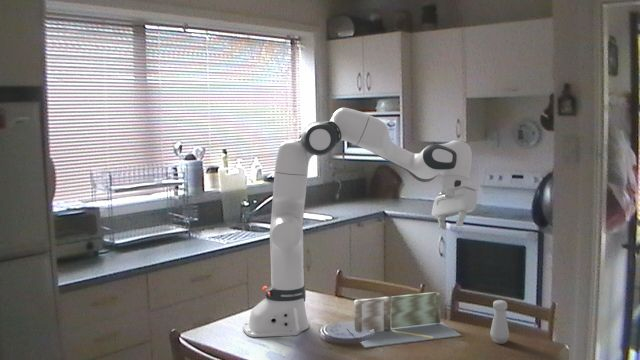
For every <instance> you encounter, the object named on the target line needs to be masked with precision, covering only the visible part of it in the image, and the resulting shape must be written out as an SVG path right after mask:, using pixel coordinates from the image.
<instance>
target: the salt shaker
mask: <svg viewBox="0 0 640 360" xmlns="http://www.w3.org/2000/svg"><path fill="white" fill-rule="evenodd" d="M492 307H493V309H494V312H493V313H494V315H493V319H492V323H491V327H490V332H489V334H490V338H491V339H492V342H493V343H495V344H502V345H504V344H505V343H507V342H508V340H509V338H510V331H509V330H510V329H509V324H508V318H507V311H506V310H507V309H508V302H507V301H505V300H502V299H497V300H494V301H493V303H492Z"/></svg>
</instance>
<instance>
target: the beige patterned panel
mask: <svg viewBox="0 0 640 360" xmlns="http://www.w3.org/2000/svg"><path fill="white" fill-rule="evenodd" d="M353 303H354V304H353V308H354V327H355V331H356V332H361V331H363V330H372V329H374V331H375V332H379V331H390V330H391V296H381V297H370V298H361V299H355V300H354V302H353Z"/></svg>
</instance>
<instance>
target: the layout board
mask: <svg viewBox="0 0 640 360" xmlns="http://www.w3.org/2000/svg"><path fill="white" fill-rule="evenodd" d="M457 337H458V338H459V337H462V334H461V333H459V332H457V331H456V330H455V329H454V328H451V327H450V326H448V325H447V324H445V323H444V322H442V321H441V320H440V323H432V324H424V325H415V326H407V327H398V328H391V330H390V331H379V332H375V334H374V335H373V337H372V338H370V339H368V340H365V341H362V342H359V344H361V345H362V346H363V347H364V348H365V349H369V348H370V349H371V348H377V347H378V348H379V347H386V346H392V345H400V344H409V343H416V342H418V343H419V342H426V341H432V340H433V341H434V340H439V339H440V340H441V339H446V338H447V339H449V338H457Z"/></svg>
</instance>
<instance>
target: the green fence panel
mask: <svg viewBox="0 0 640 360" xmlns="http://www.w3.org/2000/svg"><path fill="white" fill-rule="evenodd" d="M441 295H442V294H441V293H440V292H436V291H432V292H421V293H420V292H419V293H410V294H403V295H402V294H401V295H392V296H390V308H391V328H398V327H407V326H415V325H424V324H432V323H440V321H441Z"/></svg>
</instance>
